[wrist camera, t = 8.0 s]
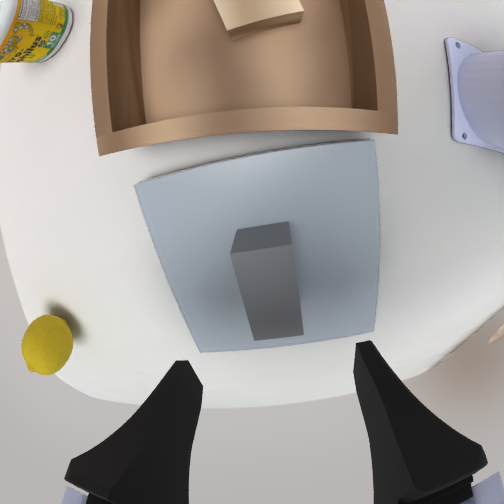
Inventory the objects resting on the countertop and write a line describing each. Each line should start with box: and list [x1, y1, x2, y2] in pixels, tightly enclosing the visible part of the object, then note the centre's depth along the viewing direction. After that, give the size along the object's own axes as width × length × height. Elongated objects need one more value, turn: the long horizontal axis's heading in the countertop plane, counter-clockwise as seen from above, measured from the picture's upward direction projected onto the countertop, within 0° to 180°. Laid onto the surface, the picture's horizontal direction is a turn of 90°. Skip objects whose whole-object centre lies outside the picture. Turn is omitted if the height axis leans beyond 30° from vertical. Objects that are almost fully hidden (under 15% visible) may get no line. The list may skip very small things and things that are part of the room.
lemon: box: [22, 315, 73, 375], centre depth 21 cm, size 6×6×8 cm
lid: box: [134, 139, 380, 353], centre depth 17 cm, size 14×14×6 cm
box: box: [90, 0, 398, 156], centre depth 10 cm, size 14×14×5 cm
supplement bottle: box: [0, 0, 72, 63], centre depth 7 cm, size 5×5×10 cm
